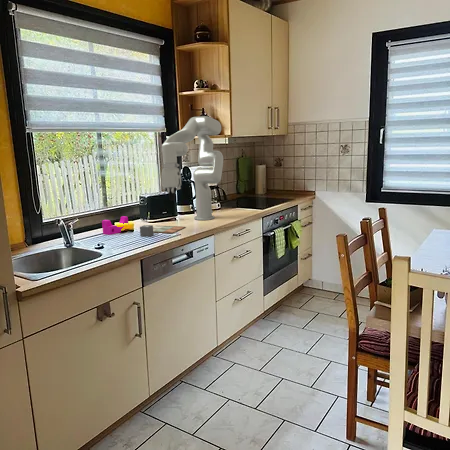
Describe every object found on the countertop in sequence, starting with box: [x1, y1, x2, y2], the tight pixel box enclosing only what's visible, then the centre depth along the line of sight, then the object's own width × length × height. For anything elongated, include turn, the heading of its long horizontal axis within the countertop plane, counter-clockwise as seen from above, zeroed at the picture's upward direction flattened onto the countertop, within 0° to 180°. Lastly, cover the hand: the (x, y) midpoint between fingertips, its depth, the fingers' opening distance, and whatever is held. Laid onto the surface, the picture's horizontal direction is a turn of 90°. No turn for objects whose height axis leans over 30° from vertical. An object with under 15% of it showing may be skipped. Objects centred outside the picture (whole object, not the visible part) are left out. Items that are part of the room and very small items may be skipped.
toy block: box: [101, 215, 129, 236], centre depth 235 cm, size 15×6×8 cm, turn 143°
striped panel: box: [153, 225, 187, 235], centre depth 235 cm, size 17×18×1 cm
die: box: [139, 224, 155, 238], centre depth 223 cm, size 5×5×5 cm
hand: (172, 200), depth 230 cm, fingers closed
